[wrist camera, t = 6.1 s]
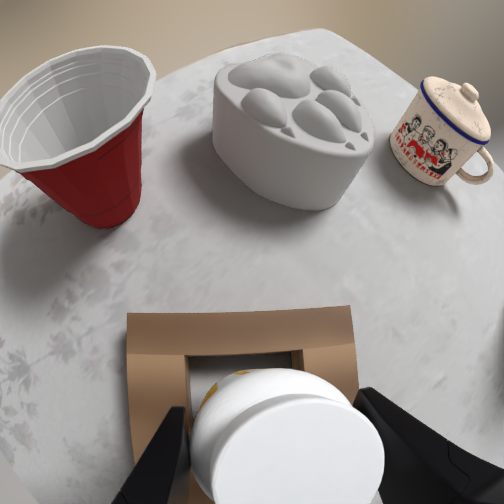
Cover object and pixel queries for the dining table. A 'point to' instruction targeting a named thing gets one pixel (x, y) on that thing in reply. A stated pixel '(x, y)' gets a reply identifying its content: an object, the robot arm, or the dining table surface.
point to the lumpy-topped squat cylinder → (290, 129)
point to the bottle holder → (227, 344)
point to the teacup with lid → (442, 133)
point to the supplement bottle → (283, 442)
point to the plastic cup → (81, 130)
